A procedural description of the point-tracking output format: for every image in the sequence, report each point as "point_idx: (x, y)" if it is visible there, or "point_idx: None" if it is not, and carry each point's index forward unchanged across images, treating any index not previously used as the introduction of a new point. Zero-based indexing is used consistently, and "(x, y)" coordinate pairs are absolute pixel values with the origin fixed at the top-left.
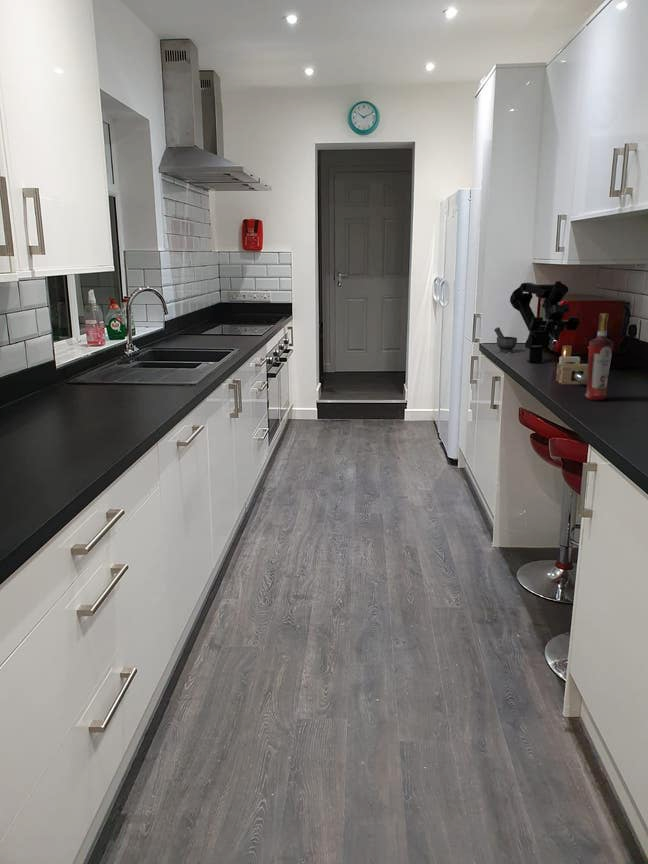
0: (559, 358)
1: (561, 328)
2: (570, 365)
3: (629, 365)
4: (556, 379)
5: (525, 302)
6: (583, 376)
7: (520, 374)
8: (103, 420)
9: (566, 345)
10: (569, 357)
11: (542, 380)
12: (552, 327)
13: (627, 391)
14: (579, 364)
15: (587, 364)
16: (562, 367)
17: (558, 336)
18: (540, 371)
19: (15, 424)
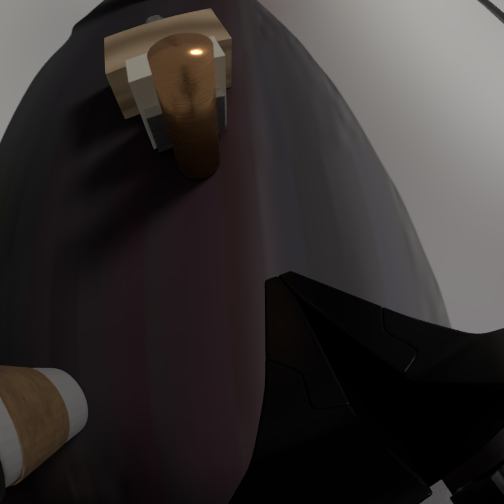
0: (225, 61)
1: (258, 435)
2: (180, 30)
3: (6, 501)
4: (229, 80)
5: None
6: (152, 17)
7: (381, 170)
8: (487, 3)
9: (180, 66)
10: None
11: (277, 83)
12: (461, 345)
13: (65, 54)
14: (140, 53)
15: (108, 65)
16: (211, 12)
17: (278, 297)
18: (323, 274)
19: (498, 8)
